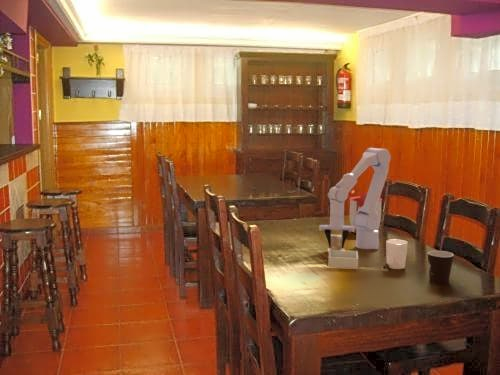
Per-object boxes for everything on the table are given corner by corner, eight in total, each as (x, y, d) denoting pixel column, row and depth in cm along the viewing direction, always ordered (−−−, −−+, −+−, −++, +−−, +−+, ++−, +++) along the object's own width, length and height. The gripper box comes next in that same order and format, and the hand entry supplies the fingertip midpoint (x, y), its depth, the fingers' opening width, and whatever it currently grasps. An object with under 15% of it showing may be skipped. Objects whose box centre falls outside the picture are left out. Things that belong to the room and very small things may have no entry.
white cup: (406, 265, 208) (408, 240, 206) (405, 270, 200) (407, 244, 199) (386, 263, 210) (387, 238, 209) (384, 268, 203) (385, 243, 202)
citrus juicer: (344, 235, 257) (345, 194, 254) (352, 228, 273) (353, 189, 270) (377, 238, 251) (379, 196, 248) (383, 230, 267) (384, 191, 264)
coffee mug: (449, 286, 182) (450, 258, 181) (423, 282, 187) (424, 254, 185) (456, 277, 192) (457, 250, 191) (431, 273, 197) (433, 247, 195)
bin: (357, 260, 213) (357, 251, 213) (358, 268, 202) (358, 258, 202) (329, 259, 215) (329, 249, 215) (328, 267, 204) (328, 257, 204)
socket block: (341, 249, 226) (342, 234, 225) (341, 252, 221) (342, 237, 220) (330, 249, 226) (331, 234, 226) (330, 251, 222) (330, 236, 221)
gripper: (319, 216, 219) (318, 249, 221) (354, 218, 217) (353, 250, 218) (319, 213, 226) (319, 244, 228) (354, 214, 223) (353, 246, 225)
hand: (336, 247), depth 224 cm, fingers closed on socket block, 5 cm apart
